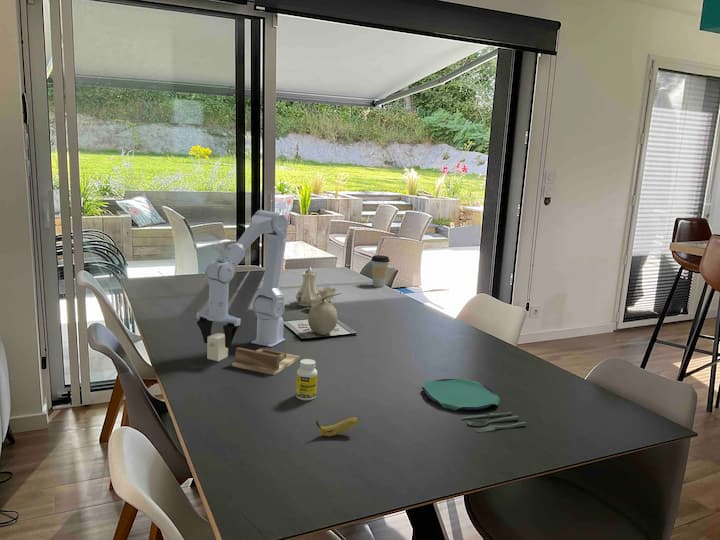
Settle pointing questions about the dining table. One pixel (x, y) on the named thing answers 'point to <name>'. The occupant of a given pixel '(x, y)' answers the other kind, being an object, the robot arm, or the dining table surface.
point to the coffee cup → (379, 269)
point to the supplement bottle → (306, 380)
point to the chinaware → (312, 290)
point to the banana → (337, 427)
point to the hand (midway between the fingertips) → (217, 344)
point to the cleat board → (263, 360)
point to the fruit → (323, 317)
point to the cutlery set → (467, 400)
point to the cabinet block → (216, 347)
